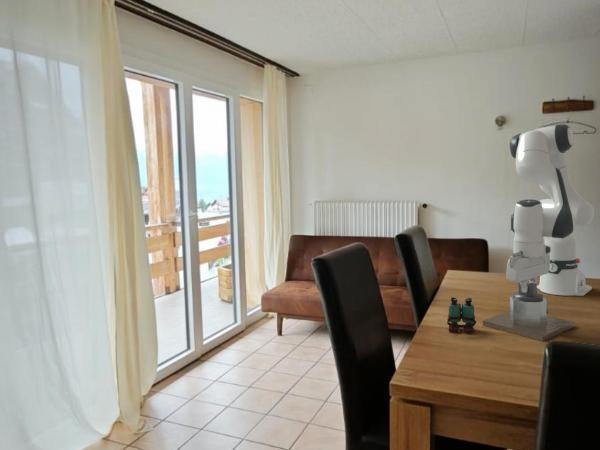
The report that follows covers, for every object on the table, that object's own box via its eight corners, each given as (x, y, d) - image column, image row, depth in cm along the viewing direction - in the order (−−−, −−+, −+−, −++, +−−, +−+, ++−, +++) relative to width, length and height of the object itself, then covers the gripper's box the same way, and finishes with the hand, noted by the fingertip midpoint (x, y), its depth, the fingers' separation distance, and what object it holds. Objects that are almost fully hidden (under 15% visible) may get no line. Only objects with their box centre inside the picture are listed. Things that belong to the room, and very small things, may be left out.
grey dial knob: (521, 298, 154) (521, 278, 153) (548, 303, 146) (548, 283, 145) (507, 303, 149) (507, 283, 148) (533, 309, 141) (534, 287, 140)
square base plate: (515, 313, 162) (515, 287, 161) (574, 326, 145) (575, 298, 144) (482, 325, 151) (482, 297, 150) (542, 341, 134) (542, 310, 133)
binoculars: (446, 306, 141) (447, 295, 151) (447, 337, 143) (447, 324, 153) (477, 307, 138) (475, 296, 148) (477, 339, 140) (475, 325, 150)
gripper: (520, 255, 137) (519, 298, 139) (553, 247, 148) (553, 287, 150) (501, 252, 142) (500, 295, 144) (535, 245, 154) (534, 284, 155)
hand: (528, 291), depth 147 cm, fingers closed on grey dial knob, 2 cm apart
